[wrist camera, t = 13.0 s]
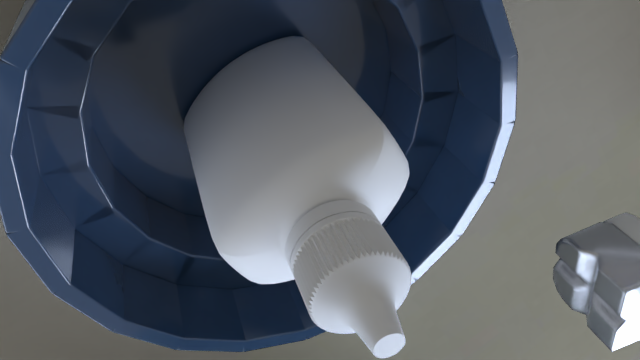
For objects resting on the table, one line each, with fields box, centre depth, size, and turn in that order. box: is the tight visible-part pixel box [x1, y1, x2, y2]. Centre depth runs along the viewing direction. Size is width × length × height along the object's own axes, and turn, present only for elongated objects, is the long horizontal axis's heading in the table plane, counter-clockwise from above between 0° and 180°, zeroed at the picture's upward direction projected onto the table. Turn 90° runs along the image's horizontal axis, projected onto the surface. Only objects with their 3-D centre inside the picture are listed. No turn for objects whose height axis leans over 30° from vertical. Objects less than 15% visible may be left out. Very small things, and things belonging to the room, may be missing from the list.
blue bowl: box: [0, 0, 518, 352], centre depth 18 cm, size 15×15×6 cm
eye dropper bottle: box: [184, 36, 412, 358], centre depth 15 cm, size 4×6×12 cm
